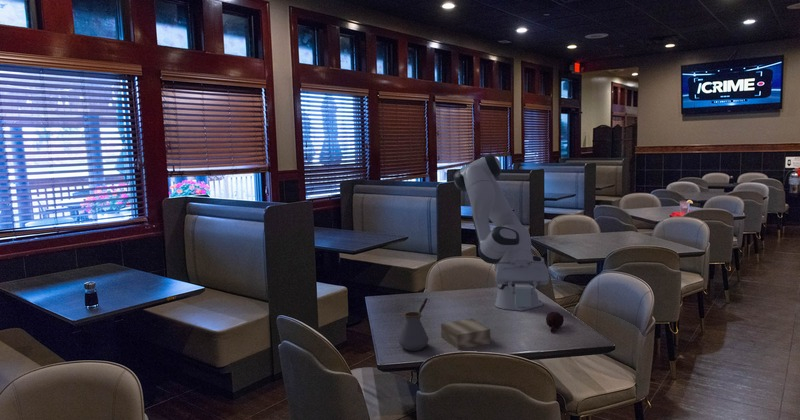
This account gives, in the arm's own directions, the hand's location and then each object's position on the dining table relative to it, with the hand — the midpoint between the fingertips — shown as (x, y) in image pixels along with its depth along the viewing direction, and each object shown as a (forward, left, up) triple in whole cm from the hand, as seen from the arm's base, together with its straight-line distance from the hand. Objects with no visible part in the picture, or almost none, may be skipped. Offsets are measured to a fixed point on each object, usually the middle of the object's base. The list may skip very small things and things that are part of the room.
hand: (522, 293), depth 205 cm
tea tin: (0, 0, -4) cm, 4 cm away
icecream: (-21, -8, -20) cm, 30 cm away
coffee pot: (+36, -17, -20) cm, 45 cm away
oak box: (+19, -12, -20) cm, 29 cm away
